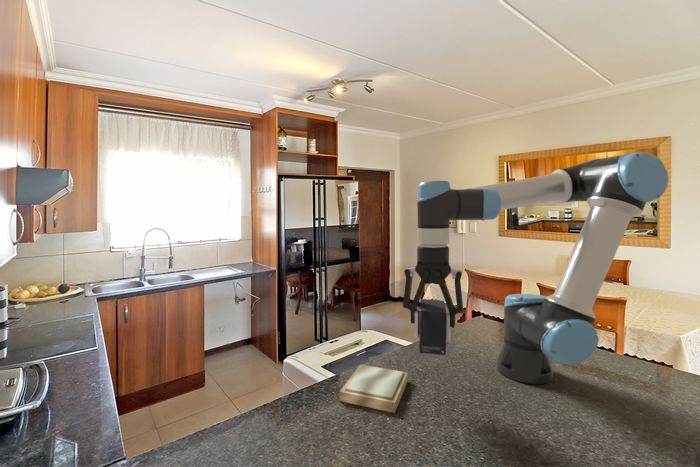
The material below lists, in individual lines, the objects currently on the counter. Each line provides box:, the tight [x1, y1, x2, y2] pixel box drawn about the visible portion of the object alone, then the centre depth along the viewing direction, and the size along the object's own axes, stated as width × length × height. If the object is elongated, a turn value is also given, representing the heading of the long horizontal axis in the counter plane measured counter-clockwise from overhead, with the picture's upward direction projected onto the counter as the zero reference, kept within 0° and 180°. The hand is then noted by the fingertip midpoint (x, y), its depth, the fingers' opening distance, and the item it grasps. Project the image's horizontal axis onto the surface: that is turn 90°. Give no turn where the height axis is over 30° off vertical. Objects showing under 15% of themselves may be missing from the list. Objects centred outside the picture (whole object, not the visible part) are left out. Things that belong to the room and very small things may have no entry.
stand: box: [339, 364, 409, 414], centre depth 92 cm, size 14×16×3 cm
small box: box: [418, 298, 448, 356], centre depth 86 cm, size 11×6×10 cm, turn 168°
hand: (432, 337), depth 86 cm, fingers closed on small box, 7 cm apart
